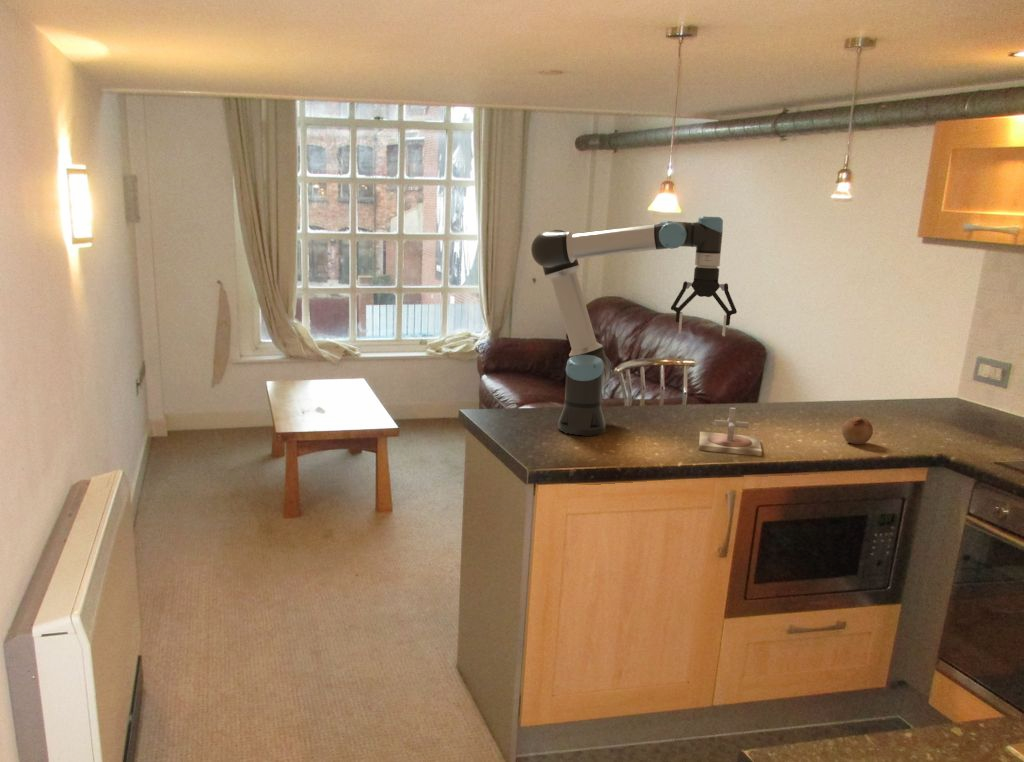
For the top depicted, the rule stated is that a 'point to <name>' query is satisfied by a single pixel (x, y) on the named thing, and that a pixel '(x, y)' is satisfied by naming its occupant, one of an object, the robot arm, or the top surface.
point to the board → (730, 443)
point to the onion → (857, 430)
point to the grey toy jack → (731, 424)
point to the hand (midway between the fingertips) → (701, 334)
